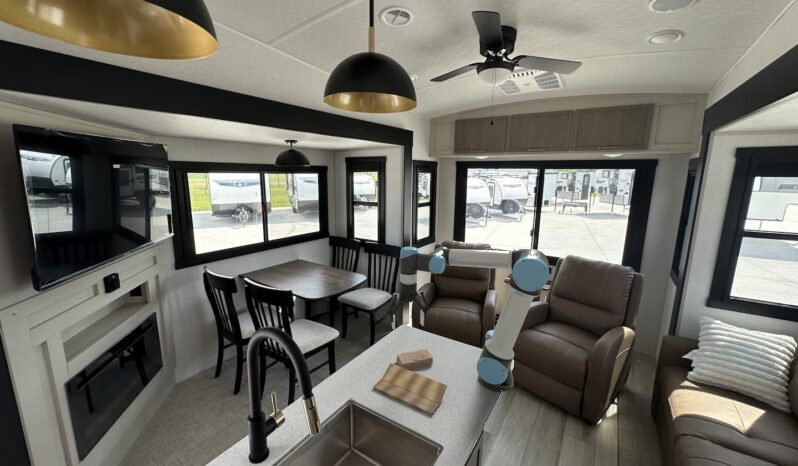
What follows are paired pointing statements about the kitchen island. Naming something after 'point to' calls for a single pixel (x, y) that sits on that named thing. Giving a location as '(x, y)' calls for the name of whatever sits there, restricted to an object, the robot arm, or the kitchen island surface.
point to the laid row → (406, 397)
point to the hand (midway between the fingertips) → (407, 326)
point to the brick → (414, 359)
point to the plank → (415, 383)
